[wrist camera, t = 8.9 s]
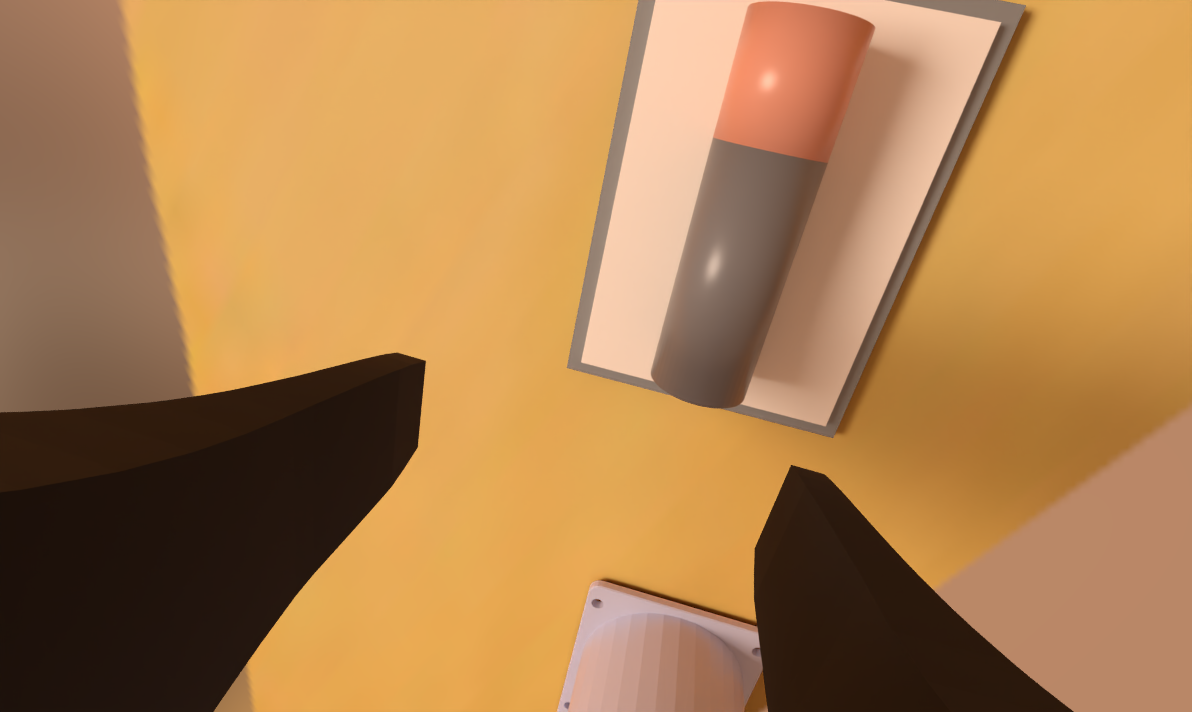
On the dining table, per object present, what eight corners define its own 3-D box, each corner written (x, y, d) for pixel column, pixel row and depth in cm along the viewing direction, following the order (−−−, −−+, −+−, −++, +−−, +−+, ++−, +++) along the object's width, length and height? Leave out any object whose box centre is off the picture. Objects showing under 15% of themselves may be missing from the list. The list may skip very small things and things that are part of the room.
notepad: (830, 432, 20) (834, 442, 19) (569, 363, 20) (565, 371, 20) (1018, 8, 14) (1032, 2, 14) (652, -61, 15) (650, -69, 14)
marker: (752, 383, 18) (733, 420, 16) (667, 352, 19) (636, 382, 17) (874, 40, 14) (876, 14, 12) (758, 22, 15) (736, -6, 12)
